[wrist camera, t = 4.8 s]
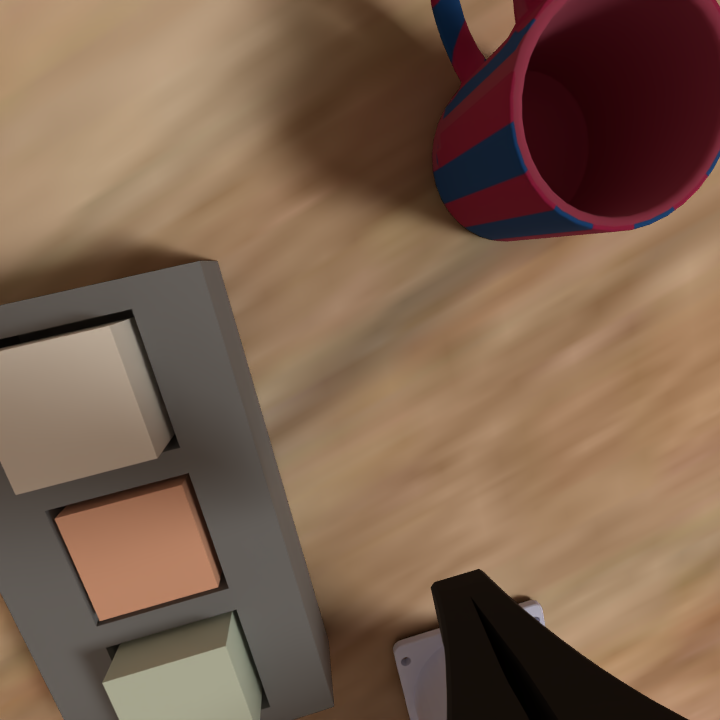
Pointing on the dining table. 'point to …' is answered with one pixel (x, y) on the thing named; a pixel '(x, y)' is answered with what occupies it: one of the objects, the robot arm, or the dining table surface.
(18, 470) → the cream key
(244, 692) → the sage key
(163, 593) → the terracotta key
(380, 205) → the dining table surface
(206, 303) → the key panel
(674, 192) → the mug
